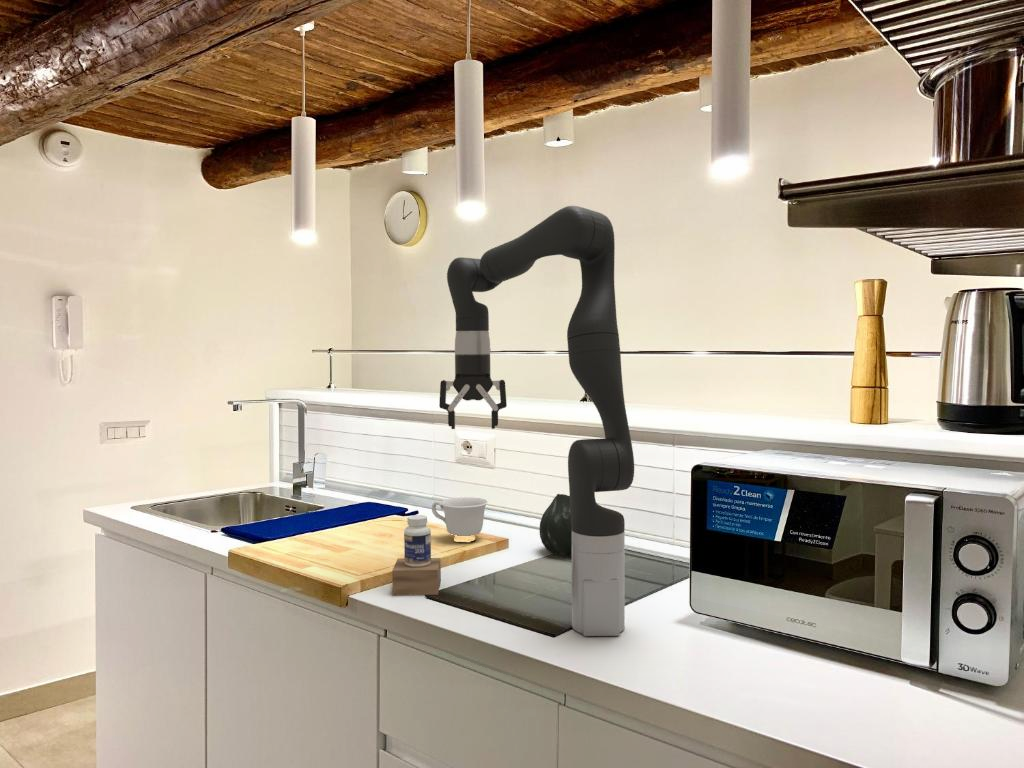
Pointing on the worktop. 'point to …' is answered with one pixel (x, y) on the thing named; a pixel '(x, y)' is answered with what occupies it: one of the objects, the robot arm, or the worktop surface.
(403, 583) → the plinth
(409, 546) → the pill bottle
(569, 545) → the squash
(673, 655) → the worktop surface
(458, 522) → the teacup
